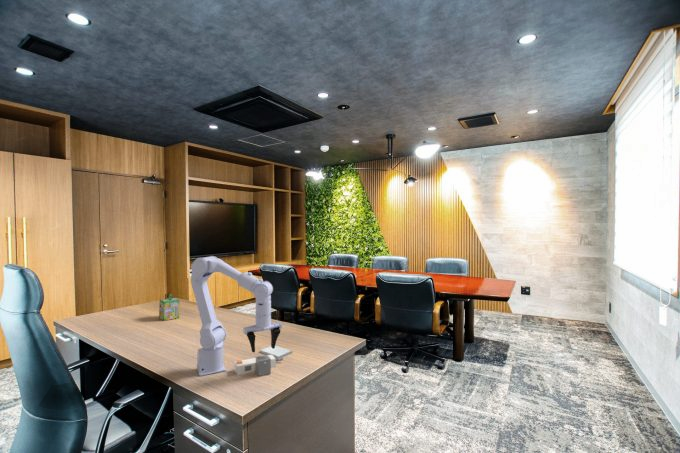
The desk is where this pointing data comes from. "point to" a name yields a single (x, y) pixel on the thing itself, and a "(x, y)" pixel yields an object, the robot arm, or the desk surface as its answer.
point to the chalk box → (169, 308)
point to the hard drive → (276, 351)
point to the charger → (263, 365)
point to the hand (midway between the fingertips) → (263, 349)
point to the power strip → (251, 365)
